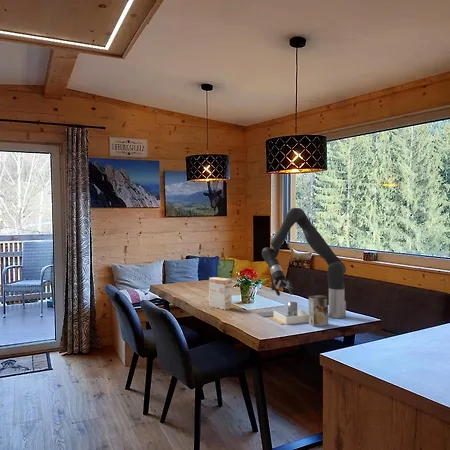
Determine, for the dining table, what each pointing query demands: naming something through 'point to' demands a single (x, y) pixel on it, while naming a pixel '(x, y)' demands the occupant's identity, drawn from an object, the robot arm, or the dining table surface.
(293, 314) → the tin can
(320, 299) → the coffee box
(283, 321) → the white rectangular tray
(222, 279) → the coffeecake box
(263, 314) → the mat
